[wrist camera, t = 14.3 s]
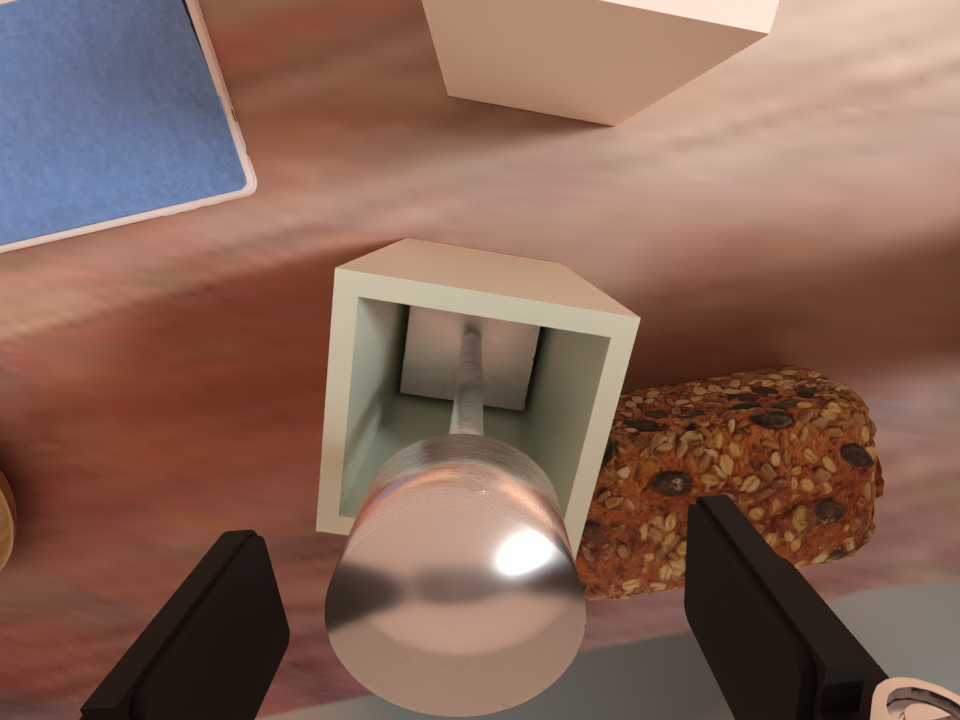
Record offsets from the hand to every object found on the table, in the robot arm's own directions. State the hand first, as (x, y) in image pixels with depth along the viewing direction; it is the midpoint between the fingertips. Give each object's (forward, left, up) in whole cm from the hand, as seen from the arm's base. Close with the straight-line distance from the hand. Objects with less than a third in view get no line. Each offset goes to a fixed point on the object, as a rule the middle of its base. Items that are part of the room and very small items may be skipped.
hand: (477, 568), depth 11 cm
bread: (-15, -6, -23) cm, 28 cm away
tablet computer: (+24, +12, -24) cm, 36 cm away
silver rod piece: (0, 0, -19) cm, 19 cm away
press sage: (0, 0, -23) cm, 23 cm away
